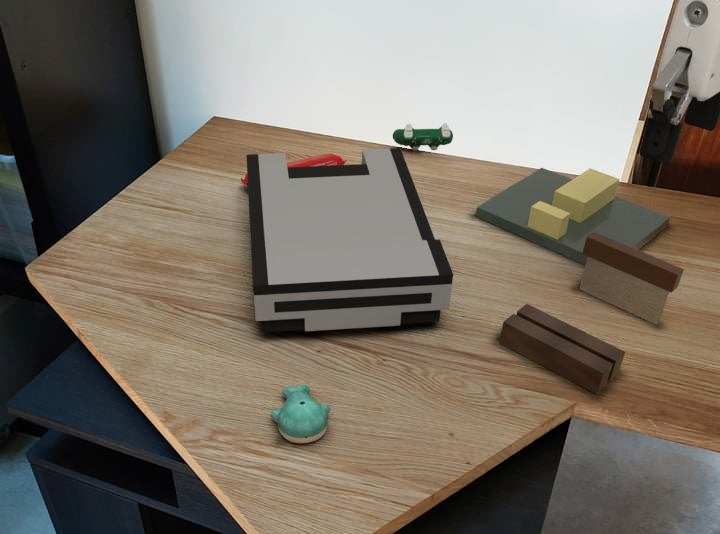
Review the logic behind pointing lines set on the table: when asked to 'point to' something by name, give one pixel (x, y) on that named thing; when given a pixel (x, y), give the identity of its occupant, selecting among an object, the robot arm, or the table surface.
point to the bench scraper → (628, 277)
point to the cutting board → (610, 221)
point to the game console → (342, 246)
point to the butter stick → (585, 194)
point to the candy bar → (311, 163)
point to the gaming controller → (423, 137)
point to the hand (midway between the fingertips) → (677, 142)
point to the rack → (562, 348)
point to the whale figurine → (301, 416)
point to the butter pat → (548, 220)
